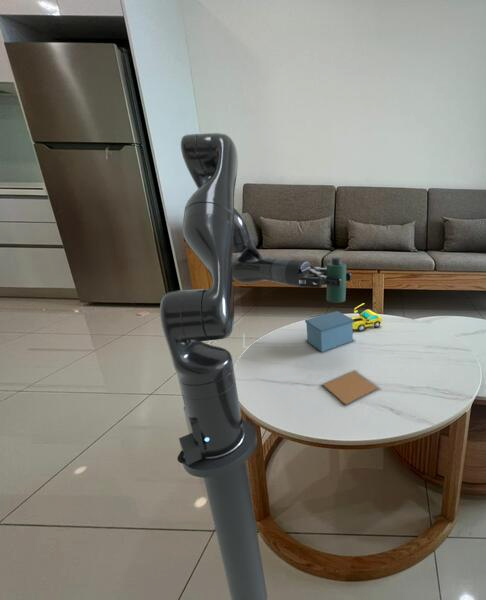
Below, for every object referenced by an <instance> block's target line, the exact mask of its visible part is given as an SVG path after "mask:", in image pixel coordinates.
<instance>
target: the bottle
mask: <svg viewBox="0 0 486 600" xmlns="http://www.w3.org/2000/svg"><path fill="white" fill-rule="evenodd" d="M326 266H327V277H335V278H340V279H341V286H340V287H335V286H328V285H327V286H326V301H327V302H329V303H332V304H338V303H340V304H341V303H344V302H346V295H347V281H346V272H347V264H346V263H344V262H342V258H341V257H339V256H338V257H336V256H335V257H332V258H331V262H327V263H326Z"/></svg>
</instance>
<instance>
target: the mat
mask: <svg viewBox="0 0 486 600" xmlns="http://www.w3.org/2000/svg"><path fill="white" fill-rule="evenodd" d="M322 386H323V387H324V388H325V389H326V390H327V391H328V392H330V393H331V394H332V395H333V396H334V397H335V398H337V400H339V401H340V402H341V403H342V404H343V405H344V406H347V405H348V404H350V403H352V402H354V401H356V400H358V399H360V398H362V397H364V396H366V395H369V394H371V393H372V392H374V391H376V390H378V387H376V386H375V385H374V384H372V383H371V382H370V381H368V380H367V379H365V378H364V377H362V376H361V375H360V374H359V373H357V372H356V371H351V372H349V373H347V374H344V375H342V376H340V377H338V378H335V379H333V380H330V381H328V382H326V383H324V384H323V385H322Z"/></svg>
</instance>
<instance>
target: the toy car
mask: <svg viewBox="0 0 486 600" xmlns="http://www.w3.org/2000/svg"><path fill="white" fill-rule="evenodd" d="M363 305H365V303H363V302H362V303H361V304H359V305H357V306H356V307H354V309H353V313H354V314H357V313H358V315H359V316H352V317H350V318H351V319H353V320H354V322H353V330H358V331H360V332H362V331H364V330H365V328H368V327H372V326H374V327H375V328H380V325H381V324H382V323H383V317H382V316H381V315H379V314H378V313H376V312H374V311H372V310H371V309H365V310H363V311H362V312H359V310H357V309H358V308H359V307H361V306H363Z"/></svg>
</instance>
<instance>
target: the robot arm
mask: <svg viewBox="0 0 486 600" xmlns="http://www.w3.org/2000/svg"><path fill="white" fill-rule="evenodd" d="M180 150H181V155H182V158H183V161H184V163H185V166H186V168H187V171H188V173H189V174H190V177H191V178H192V180H193V182H194V184H195V186H196V187H197V190H196V191H195V192H194V193H193V194H192V195H191V197H189V199H188V200H187V202H186V204H185V206H184V212H183V221H182V229H181V230H182V237H183V239H184V241H185V243H186V244H187V246H188V247H189V249H190V250H191V251H192V253H193V254H194V255H195V257H197V259H198V260H199V261H200V262H201V264H203V266H204V267H205V269H206V270H207V272H208V273H209V275H210V277H211V280H212V285H211V287H210V288H200V289H198V288H197V289H184V290H183V289H182V290H179V289H178V290H171V291H169V292H166V293H165V294H164V295H163V296H162V298H161V300H160V305H159V319H160V324H161V328H162V333H163V336H164V338H165V341H166V345H167V347H168V351H169V354H170V358H171V362H172V365H173V368H174V370H175V372H176V375H177V379H178V384H179V388H180V392H181V397H182V400H183V413H184V417H185V421H186V425H187V430H188V434H186V435H184V436H181V437H179V438H178V440H179V444H180V448H181V451H180V452H179V454H178V455H177V458H176V459H177V462H178V463H180V464H182V465H183V464H187V465H190V464H192V463H194V462H196V461H199V462H203V461H205V460H215V459H220V458H223V457H225V456H227V455H229V454H231V453H233V452H234V451H235V450H237V449H238V448H239V447H240V446H241V444H242V443H243V441H244V437H245V434H244V430H243V425H244V423H243V425H242V422H243V420H244V419H243V416H242V413H241V407H240V401H239V399H240V398H239V394H238V387H237V381H236V374H235V368H234V362H233V356H232V354H231V352H230V351H229V350H227V349H226V348H223V347H220V346H217V345H212V344H208V343H205V342H209V341H217V340H218V341H219V340H223V339H227V338H229V337H230V336H231V335H232V333H233V331H234V324H235V300H234V299H235V298H234V297H235V296H234V281H236V282H239V283H243V284H244V283H245V284H248V283H258V282H272V283H278V284H281V285H285V286H292V287H299V288H318V289H320V288H322V287H327V285H328V286H335V287H340V286H341V279H340V278H335V277H327V265H323V267H321V266H314V267H313V266H312V263H310V261H308V260H303V259H295V258H288V257H281V258H280V257H273V256H264V257H262V255H261V253H260V252H259V250H258V249H257V247H256V245H255V244H254V243H253V241H252V240H251V237H250V233H249V230H248V227H247V223H246V221H245V219H244V217H243V215H242V214H241V213H240V211H238V210H237V208H236V207H235V190H236V182H237V177H238V167H239V158H238V150H237V146H236V144H235V142H234V140H233V139H232V137H231V136H229V135H227V134H226V133H219V132H210V133H209V132H208V133H191V134H184V135H183V136H182V137H181V140H180ZM234 254H238V255H237V256H236V257H234ZM233 257H234V258H233ZM351 280H352V273H351V272H347V271H346V282H351ZM183 456H184V457H185V459H184V458H183Z"/></svg>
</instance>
